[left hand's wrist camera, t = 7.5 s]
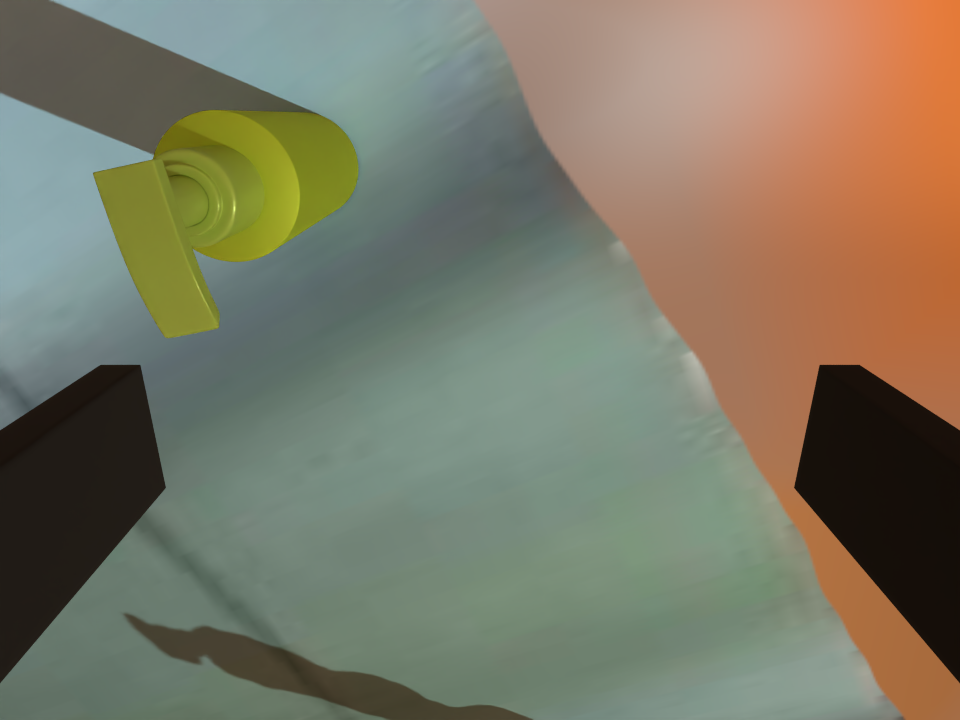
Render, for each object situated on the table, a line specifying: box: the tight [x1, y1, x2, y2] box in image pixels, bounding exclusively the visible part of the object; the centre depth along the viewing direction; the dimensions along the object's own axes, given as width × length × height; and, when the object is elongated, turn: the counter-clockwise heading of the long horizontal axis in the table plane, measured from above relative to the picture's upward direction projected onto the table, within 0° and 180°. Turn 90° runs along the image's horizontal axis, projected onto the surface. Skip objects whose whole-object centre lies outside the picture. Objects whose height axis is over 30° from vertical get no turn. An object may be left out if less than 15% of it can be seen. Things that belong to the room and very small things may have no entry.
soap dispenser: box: [93, 110, 358, 338], centre depth 28 cm, size 6×7×20 cm
